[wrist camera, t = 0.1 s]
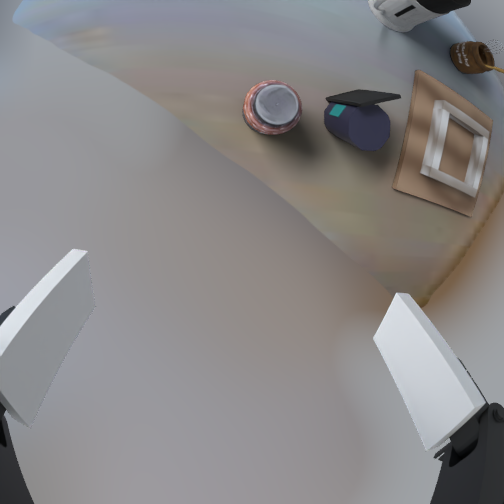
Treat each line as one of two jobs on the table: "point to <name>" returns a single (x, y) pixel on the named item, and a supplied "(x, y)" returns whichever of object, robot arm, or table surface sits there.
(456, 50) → the utensil holder
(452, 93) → the socket plate
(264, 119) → the supplement bottle
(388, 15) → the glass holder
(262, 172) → the table surface
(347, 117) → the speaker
